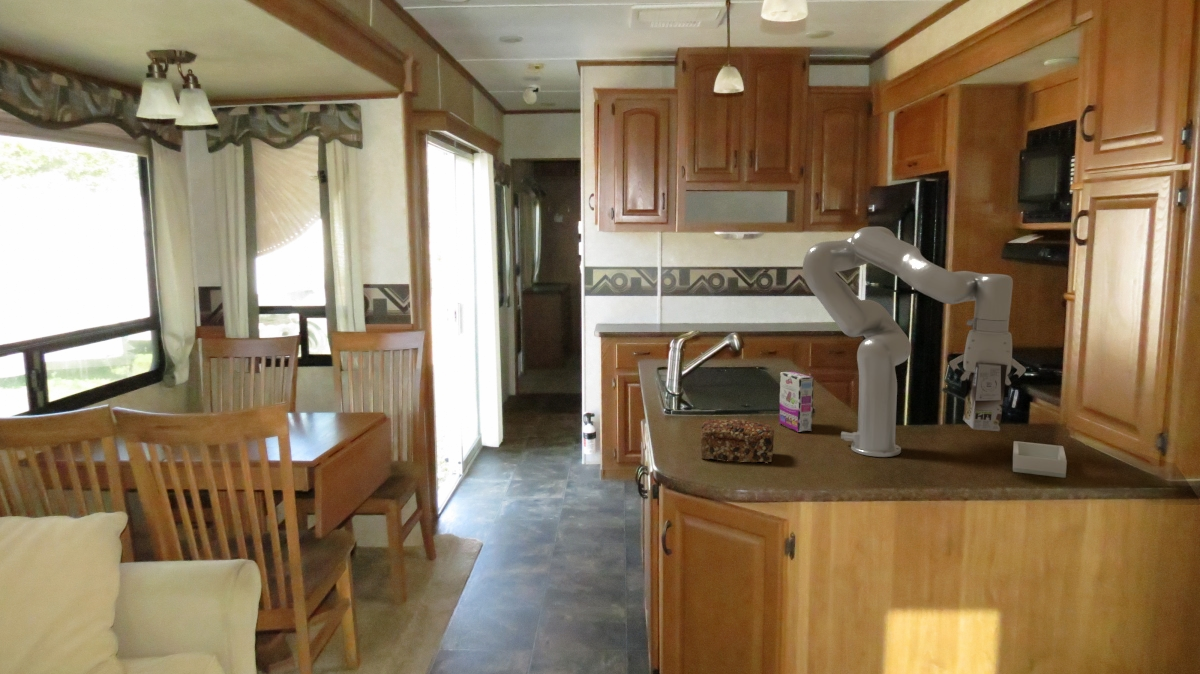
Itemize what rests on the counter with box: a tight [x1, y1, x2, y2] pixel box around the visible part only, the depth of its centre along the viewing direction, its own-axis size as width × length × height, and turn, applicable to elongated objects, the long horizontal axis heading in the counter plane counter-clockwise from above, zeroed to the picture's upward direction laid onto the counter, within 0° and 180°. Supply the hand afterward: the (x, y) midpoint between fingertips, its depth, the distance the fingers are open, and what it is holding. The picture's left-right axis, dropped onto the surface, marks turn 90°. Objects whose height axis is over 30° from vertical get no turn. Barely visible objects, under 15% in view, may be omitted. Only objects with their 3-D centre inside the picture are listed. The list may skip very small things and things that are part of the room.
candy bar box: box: [778, 370, 815, 433], centre depth 227 cm, size 11×5×16 cm, turn 18°
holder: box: [1012, 440, 1068, 479], centre depth 189 cm, size 11×14×4 cm
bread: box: [700, 418, 775, 463], centre depth 200 cm, size 19×11×10 cm, turn 75°
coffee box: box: [962, 362, 1007, 432], centre depth 184 cm, size 9×6×16 cm
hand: (983, 397), depth 184 cm, fingers closed on coffee box, 7 cm apart
